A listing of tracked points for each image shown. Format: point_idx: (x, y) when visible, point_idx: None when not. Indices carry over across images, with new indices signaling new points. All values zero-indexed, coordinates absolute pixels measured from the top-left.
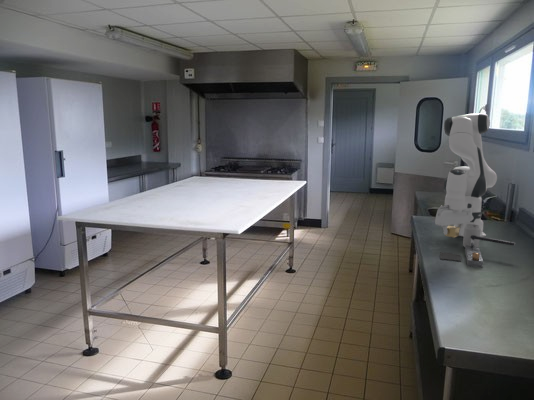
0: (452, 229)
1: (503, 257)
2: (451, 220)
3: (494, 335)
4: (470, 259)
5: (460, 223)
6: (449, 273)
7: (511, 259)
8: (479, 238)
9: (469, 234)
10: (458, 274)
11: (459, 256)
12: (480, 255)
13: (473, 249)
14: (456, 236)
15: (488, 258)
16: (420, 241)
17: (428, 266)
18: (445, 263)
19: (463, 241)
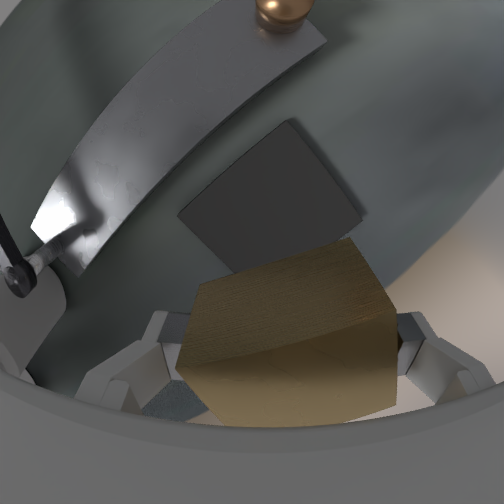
0: (393, 337)
1: (7, 114)
2: (489, 466)
3: None
4: (308, 35)
5: (172, 425)
6: (481, 65)
7: (4, 81)
8: (2, 233)
9: (19, 324)
10: (459, 31)
11: (215, 189)
12: (146, 70)
13: (82, 199)
14: (283, 260)
15: (68, 115)
16: (197, 414)
17: (484, 177)
18: (394, 154)
19: (55, 322)
